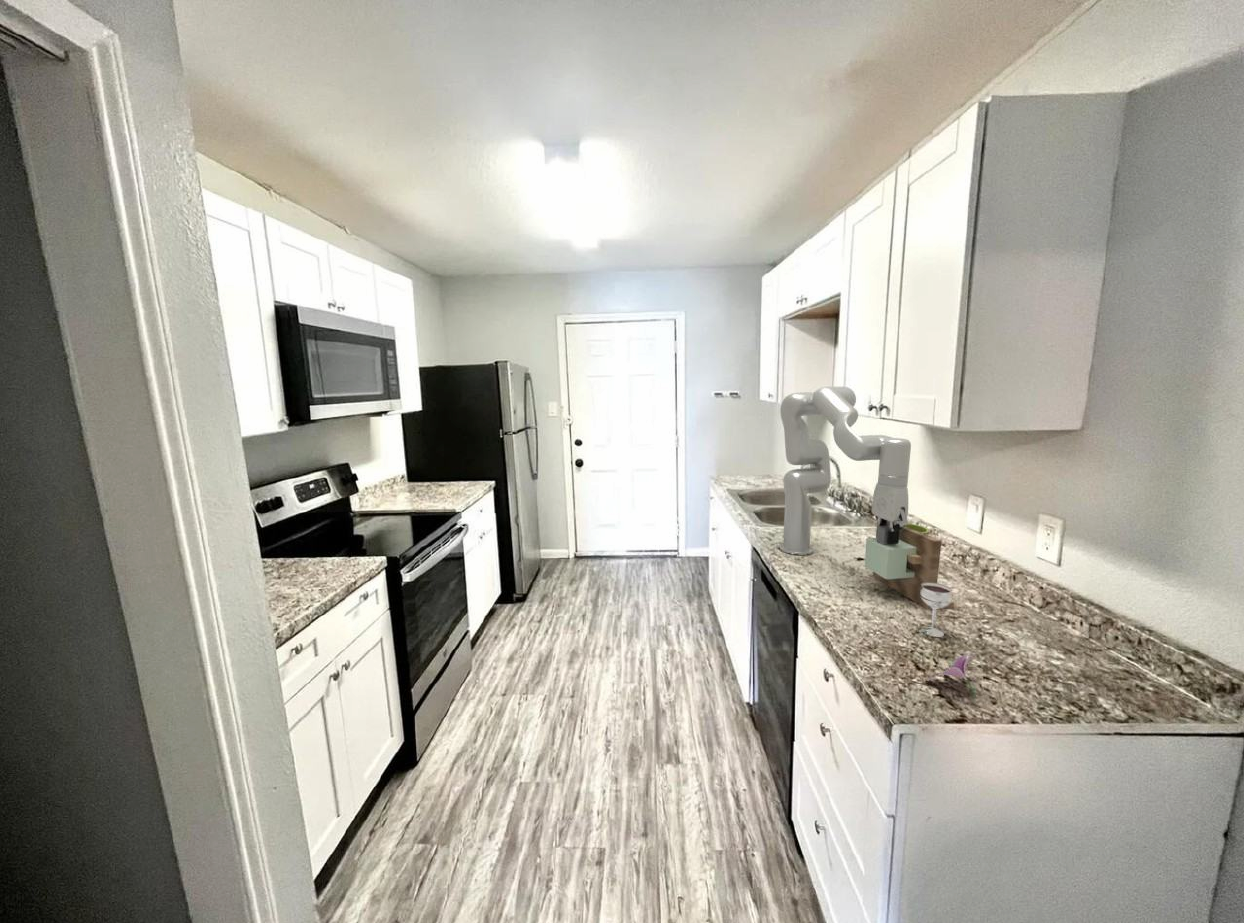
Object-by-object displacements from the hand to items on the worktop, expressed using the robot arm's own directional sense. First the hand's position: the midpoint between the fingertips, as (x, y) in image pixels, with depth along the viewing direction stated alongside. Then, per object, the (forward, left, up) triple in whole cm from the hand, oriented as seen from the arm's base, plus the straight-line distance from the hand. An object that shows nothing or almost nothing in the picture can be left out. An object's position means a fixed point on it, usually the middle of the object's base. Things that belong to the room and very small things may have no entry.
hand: (887, 540), depth 139 cm
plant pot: (-27, +29, -17) cm, 43 cm away
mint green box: (0, +1, -10) cm, 10 cm away
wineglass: (+22, -2, -17) cm, 28 cm away
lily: (+43, -15, -17) cm, 48 cm away
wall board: (-1, +8, -17) cm, 19 cm away
